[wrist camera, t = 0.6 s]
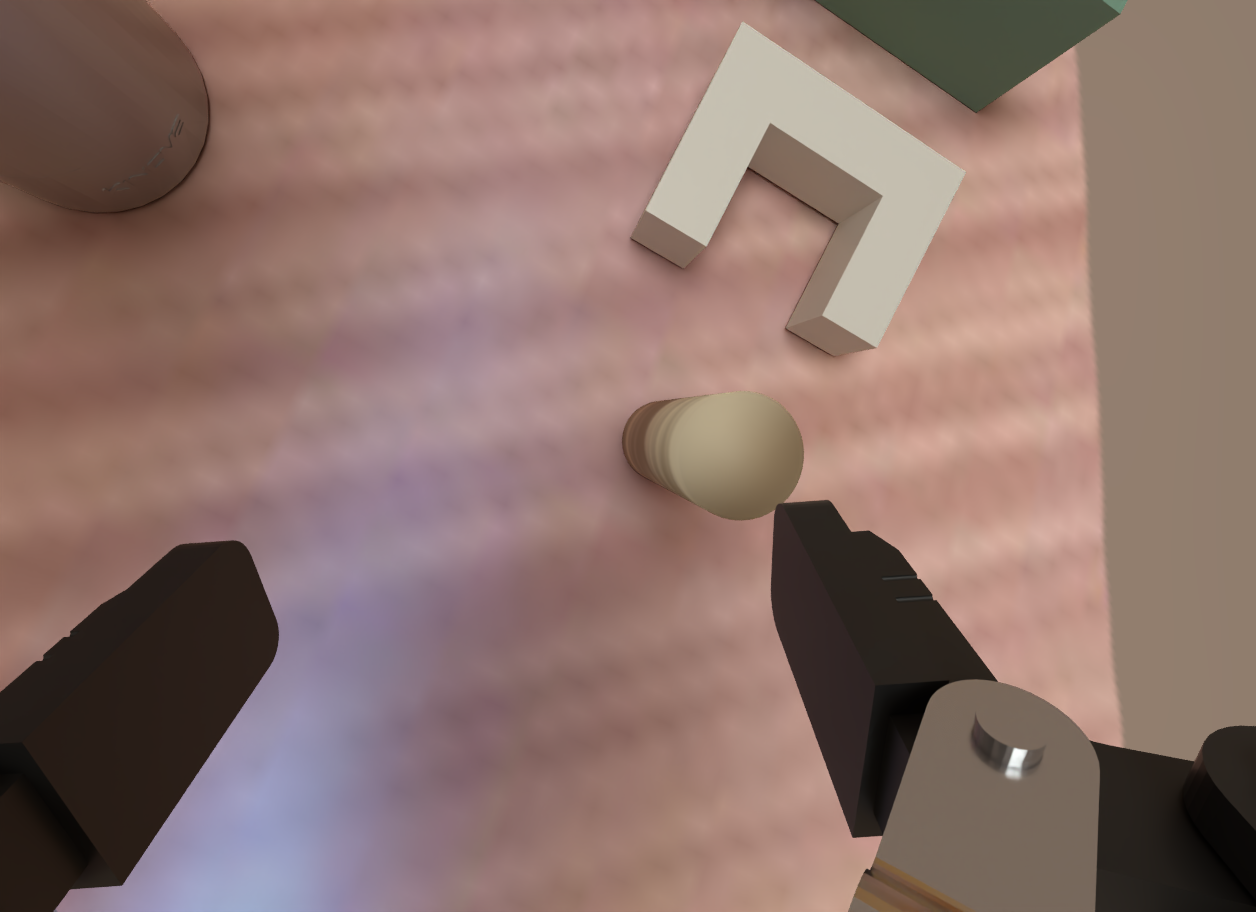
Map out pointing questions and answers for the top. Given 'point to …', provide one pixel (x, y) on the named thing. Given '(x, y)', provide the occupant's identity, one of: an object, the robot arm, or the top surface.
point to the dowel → (718, 451)
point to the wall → (976, 37)
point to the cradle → (807, 186)
